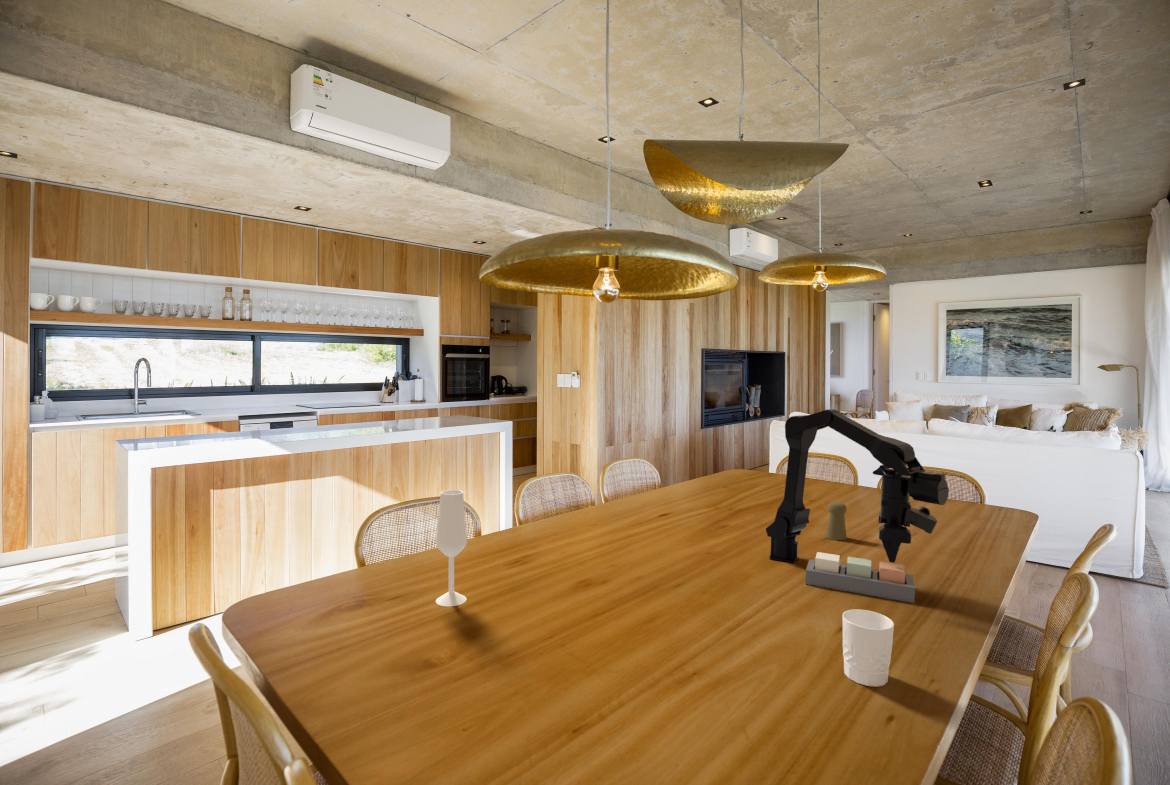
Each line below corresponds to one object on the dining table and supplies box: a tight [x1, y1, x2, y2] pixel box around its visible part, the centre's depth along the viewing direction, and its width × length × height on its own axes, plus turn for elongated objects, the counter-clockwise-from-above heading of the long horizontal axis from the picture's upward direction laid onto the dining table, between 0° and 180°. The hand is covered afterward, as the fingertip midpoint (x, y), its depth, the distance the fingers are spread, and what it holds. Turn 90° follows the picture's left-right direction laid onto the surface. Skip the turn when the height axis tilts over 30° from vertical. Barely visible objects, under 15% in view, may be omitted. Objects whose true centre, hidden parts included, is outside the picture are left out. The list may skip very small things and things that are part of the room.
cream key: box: [814, 551, 841, 573], centre depth 141 cm, size 5×5×4 cm
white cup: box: [842, 608, 895, 688], centre depth 98 cm, size 8×8×10 cm
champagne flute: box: [435, 489, 468, 607], centre depth 126 cm, size 7×7×24 cm
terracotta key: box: [878, 561, 906, 584], centre depth 135 cm, size 5×5×4 cm
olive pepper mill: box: [825, 501, 848, 541], centre depth 178 cm, size 6×6×11 cm
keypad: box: [804, 558, 916, 604], centre depth 138 cm, size 23×9×4 cm, turn 64°
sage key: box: [846, 556, 872, 578], centre depth 138 cm, size 5×5×4 cm
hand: (892, 562), depth 135 cm, fingers closed
